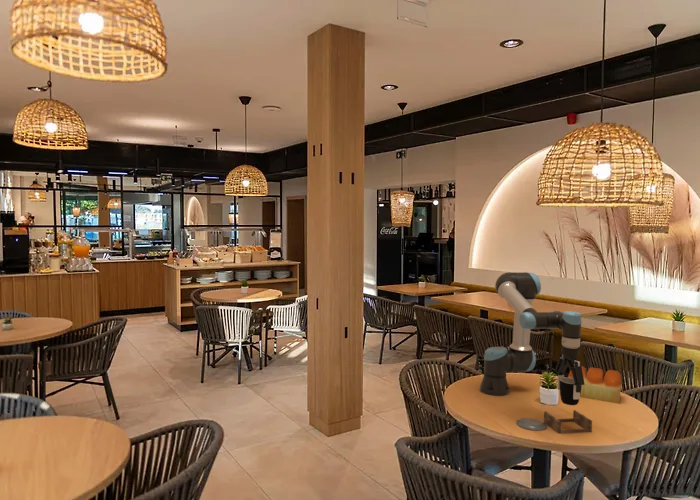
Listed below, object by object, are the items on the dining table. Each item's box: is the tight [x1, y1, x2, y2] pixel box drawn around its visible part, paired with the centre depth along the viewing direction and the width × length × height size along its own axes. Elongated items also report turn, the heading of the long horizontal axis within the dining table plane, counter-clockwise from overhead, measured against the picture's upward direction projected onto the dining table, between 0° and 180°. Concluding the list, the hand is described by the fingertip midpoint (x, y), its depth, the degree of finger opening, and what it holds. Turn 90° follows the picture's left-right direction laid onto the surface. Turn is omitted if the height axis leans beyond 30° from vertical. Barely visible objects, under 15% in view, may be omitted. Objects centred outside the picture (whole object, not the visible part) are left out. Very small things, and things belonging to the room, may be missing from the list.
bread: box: [567, 365, 623, 404], centre depth 274 cm, size 25×12×15 cm, turn 60°
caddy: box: [543, 409, 593, 434], centre depth 232 cm, size 13×16×5 cm
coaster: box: [515, 417, 548, 432], centre depth 234 cm, size 13×13×1 cm
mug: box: [559, 376, 582, 406], centre depth 232 cm, size 12×9×10 cm
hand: (568, 394), depth 232 cm, fingers closed on mug, 12 cm apart
